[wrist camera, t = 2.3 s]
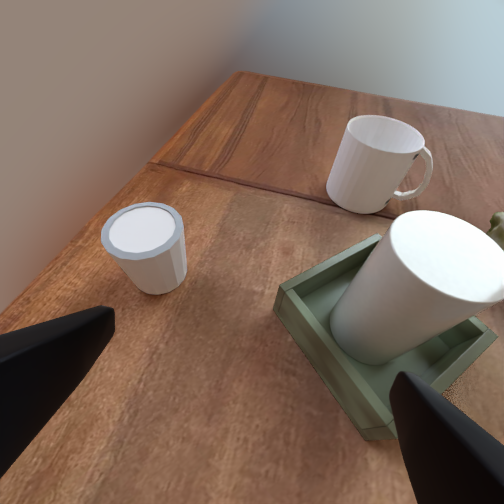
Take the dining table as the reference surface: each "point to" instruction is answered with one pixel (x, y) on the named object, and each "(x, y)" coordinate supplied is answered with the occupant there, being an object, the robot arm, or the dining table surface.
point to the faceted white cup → (148, 246)
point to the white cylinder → (417, 286)
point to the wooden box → (357, 373)
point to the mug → (375, 163)
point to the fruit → (497, 229)
